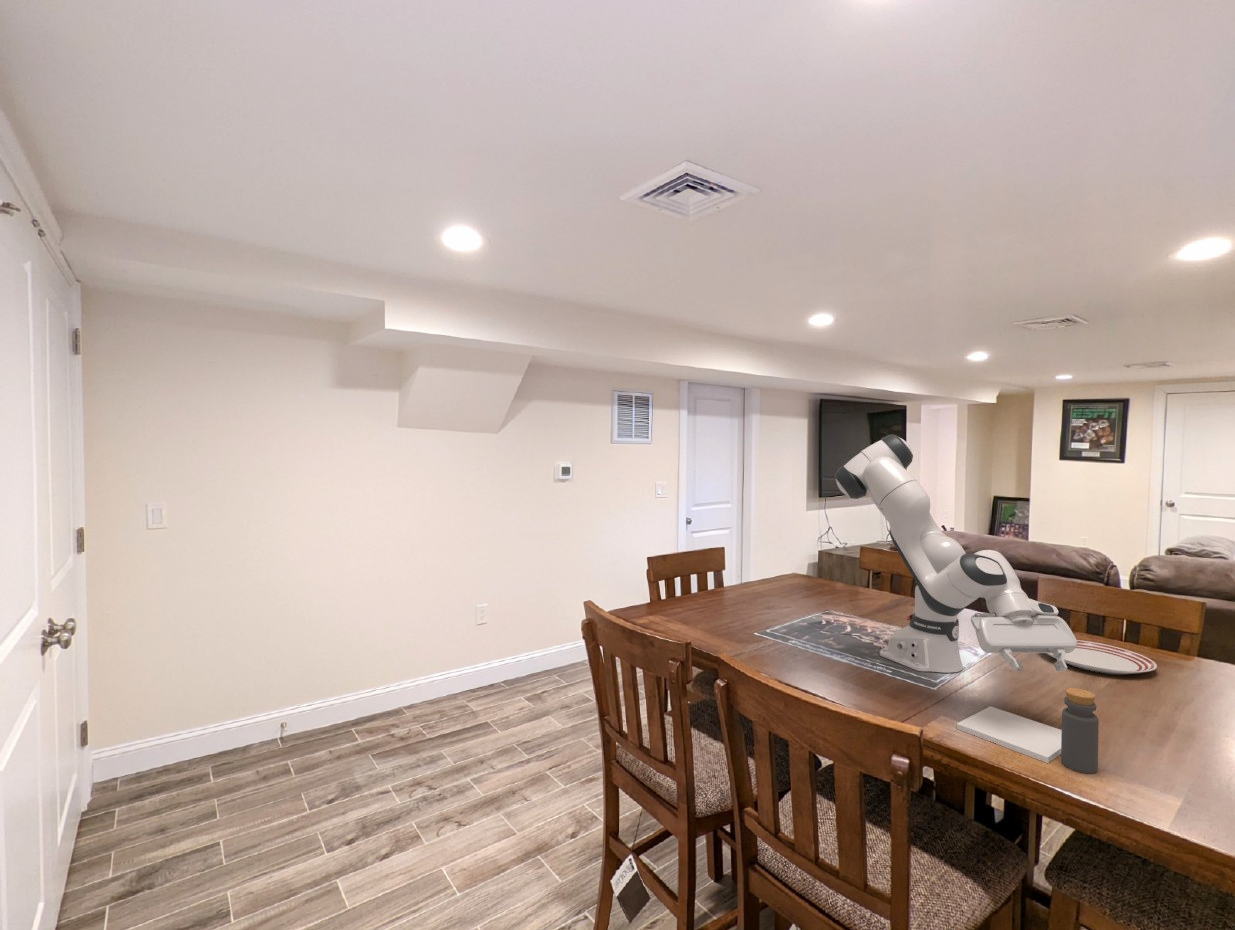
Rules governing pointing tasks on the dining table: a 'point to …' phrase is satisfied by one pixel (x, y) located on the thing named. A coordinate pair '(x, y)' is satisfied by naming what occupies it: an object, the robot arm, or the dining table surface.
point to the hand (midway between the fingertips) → (1040, 670)
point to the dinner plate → (1107, 659)
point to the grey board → (1015, 733)
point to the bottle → (1079, 732)
